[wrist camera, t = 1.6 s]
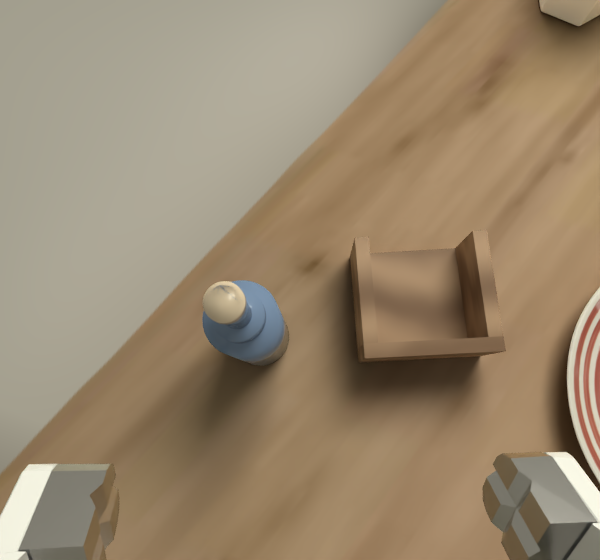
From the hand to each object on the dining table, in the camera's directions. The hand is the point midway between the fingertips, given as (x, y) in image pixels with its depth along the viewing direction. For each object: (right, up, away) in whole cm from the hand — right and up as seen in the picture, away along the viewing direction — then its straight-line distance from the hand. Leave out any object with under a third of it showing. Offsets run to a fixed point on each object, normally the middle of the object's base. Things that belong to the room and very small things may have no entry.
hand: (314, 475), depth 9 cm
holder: (+11, +2, +34) cm, 35 cm away
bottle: (-4, -1, +34) cm, 34 cm away
